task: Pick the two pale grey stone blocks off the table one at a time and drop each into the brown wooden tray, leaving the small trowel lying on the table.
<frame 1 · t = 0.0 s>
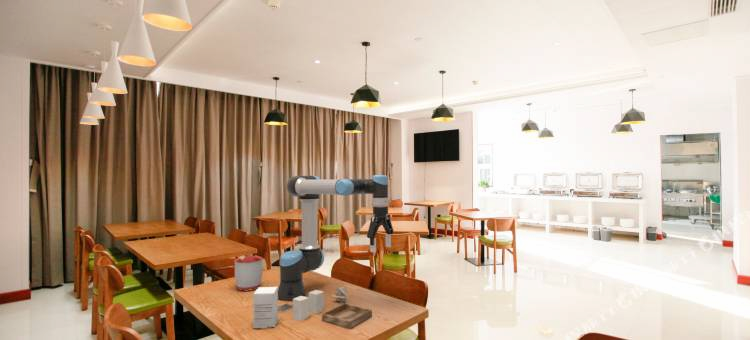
hand: (380, 249, 172), 28 cm above the table, tool pointing down, fingers open, 13 cm apart
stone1: (300, 318, 159), on the table
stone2: (316, 311, 167), on the table
architectural model: (341, 303, 179), on the table
supplement box: (265, 324, 152), on the table
trowel: (278, 311, 167), on the table
brown wooden tray: (347, 318, 157), on the table
grey bucket: (248, 288, 203), on the table
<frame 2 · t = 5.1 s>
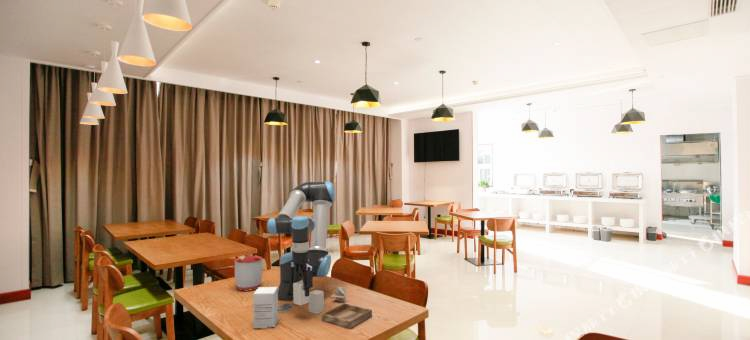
hand: (301, 301, 159), 7 cm above the table, tool pointing down, fingers closed on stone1, 5 cm apart
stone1: (301, 302, 159), point 7 cm above the table, touching gripper
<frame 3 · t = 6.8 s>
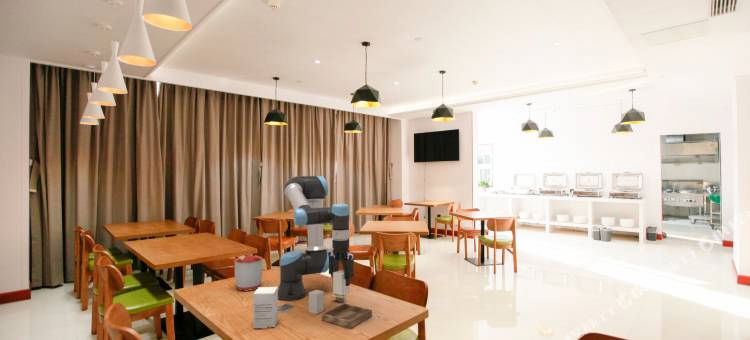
hand: (341, 291, 154), 13 cm above the table, tool pointing down, fingers closed on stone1, 5 cm apart
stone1: (341, 292, 154), point 13 cm above the table, touching gripper
everything else where it was.
when the fingers open (4 cm above the table, at t = 8.6 s): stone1 drops 3 cm, resting on brown wooden tray.
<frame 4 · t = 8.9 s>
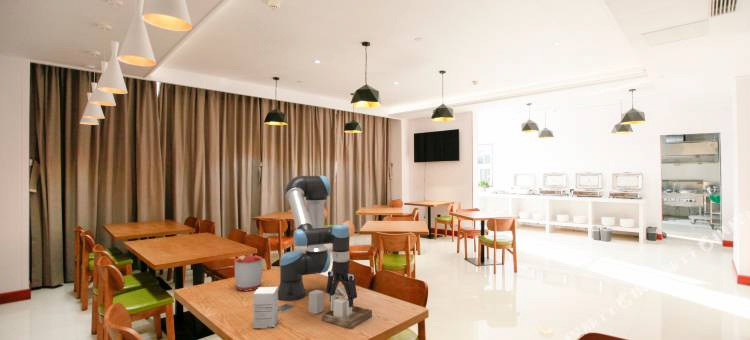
hand: (341, 311, 154), 4 cm above the table, tool pointing down, fingers open, 8 cm apart
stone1: (341, 320, 154), resting on brown wooden tray
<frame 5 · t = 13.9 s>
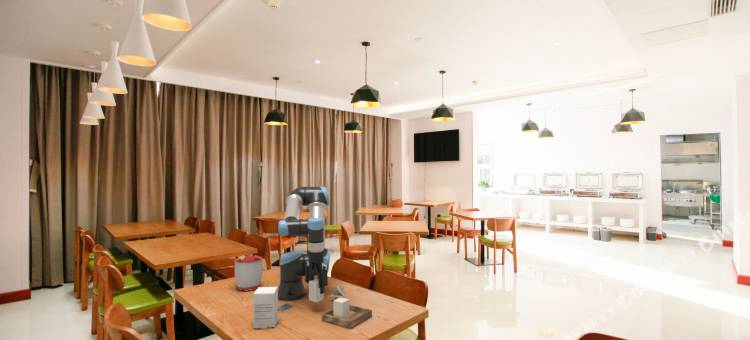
hand: (316, 298, 168), 6 cm above the table, tool pointing down, fingers closed on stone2, 5 cm apart
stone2: (316, 299, 168), point 5 cm above the table, touching gripper
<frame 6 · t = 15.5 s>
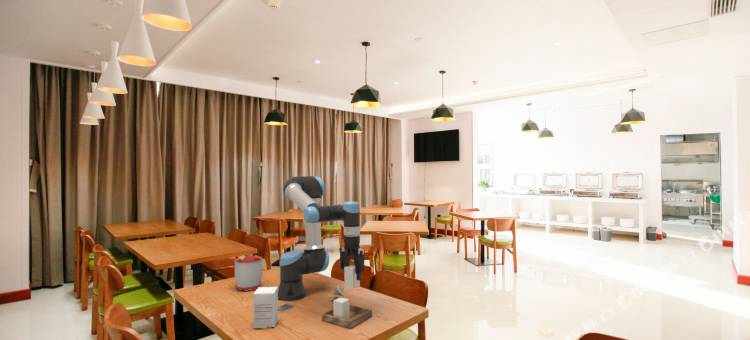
hand: (352, 285, 161), 14 cm above the table, tool pointing down, fingers closed on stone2, 5 cm apart
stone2: (352, 286, 161), point 13 cm above the table, touching gripper
when the fingers open (4 cm above the table, at t = 17.5 s): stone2 drops 3 cm, resting on brown wooden tray.
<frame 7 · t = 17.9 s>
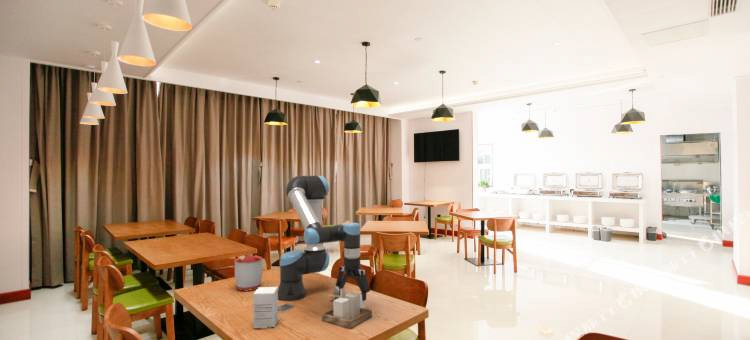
hand: (352, 304, 161), 5 cm above the table, tool pointing down, fingers open, 11 cm apart
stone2: (352, 314, 161), resting on brown wooden tray
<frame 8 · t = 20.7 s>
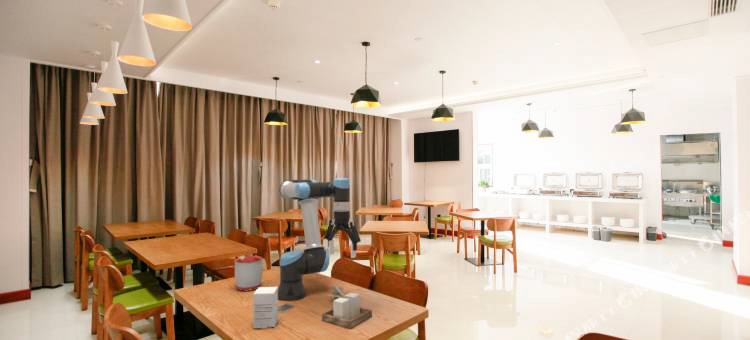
hand: (342, 255, 165), 27 cm above the table, tool pointing down, fingers open, 13 cm apart
at the end: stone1 inside the target area on the brown wooden tray (4.0 cm from its centre), point 0.5 cm above the brown wooden tray's base; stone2 inside the target area on the brown wooden tray (4.0 cm from its centre), point 0.5 cm above the brown wooden tray's base; the gripper is holding nothing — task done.
